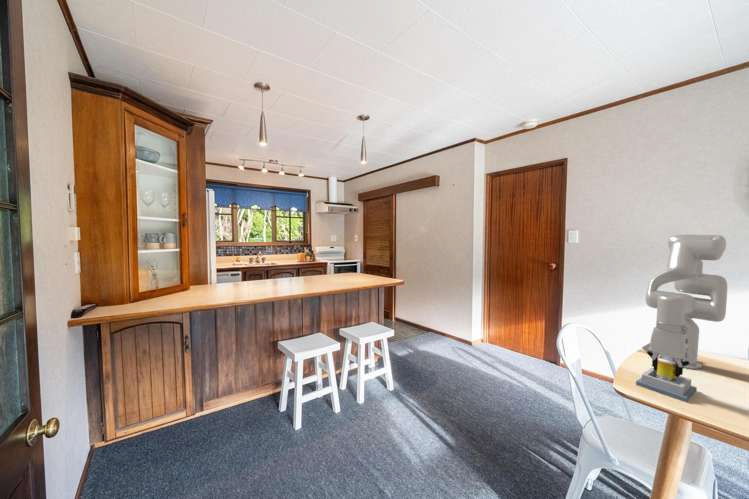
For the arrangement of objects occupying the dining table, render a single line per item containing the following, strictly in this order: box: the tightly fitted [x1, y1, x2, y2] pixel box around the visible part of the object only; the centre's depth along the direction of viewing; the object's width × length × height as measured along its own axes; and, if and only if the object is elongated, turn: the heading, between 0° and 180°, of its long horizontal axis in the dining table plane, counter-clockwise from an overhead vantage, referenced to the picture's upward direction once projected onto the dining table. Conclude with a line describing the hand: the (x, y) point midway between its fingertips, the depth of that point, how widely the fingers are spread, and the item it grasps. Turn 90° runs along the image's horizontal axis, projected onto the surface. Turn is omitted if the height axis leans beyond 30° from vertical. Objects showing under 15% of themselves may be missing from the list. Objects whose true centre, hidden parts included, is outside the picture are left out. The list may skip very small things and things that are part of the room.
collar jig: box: [635, 367, 698, 403], centre depth 114 cm, size 14×14×4 cm
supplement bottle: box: [657, 355, 678, 382], centre depth 114 cm, size 6×6×10 cm
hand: (666, 372), depth 114 cm, fingers closed on supplement bottle, 5 cm apart
